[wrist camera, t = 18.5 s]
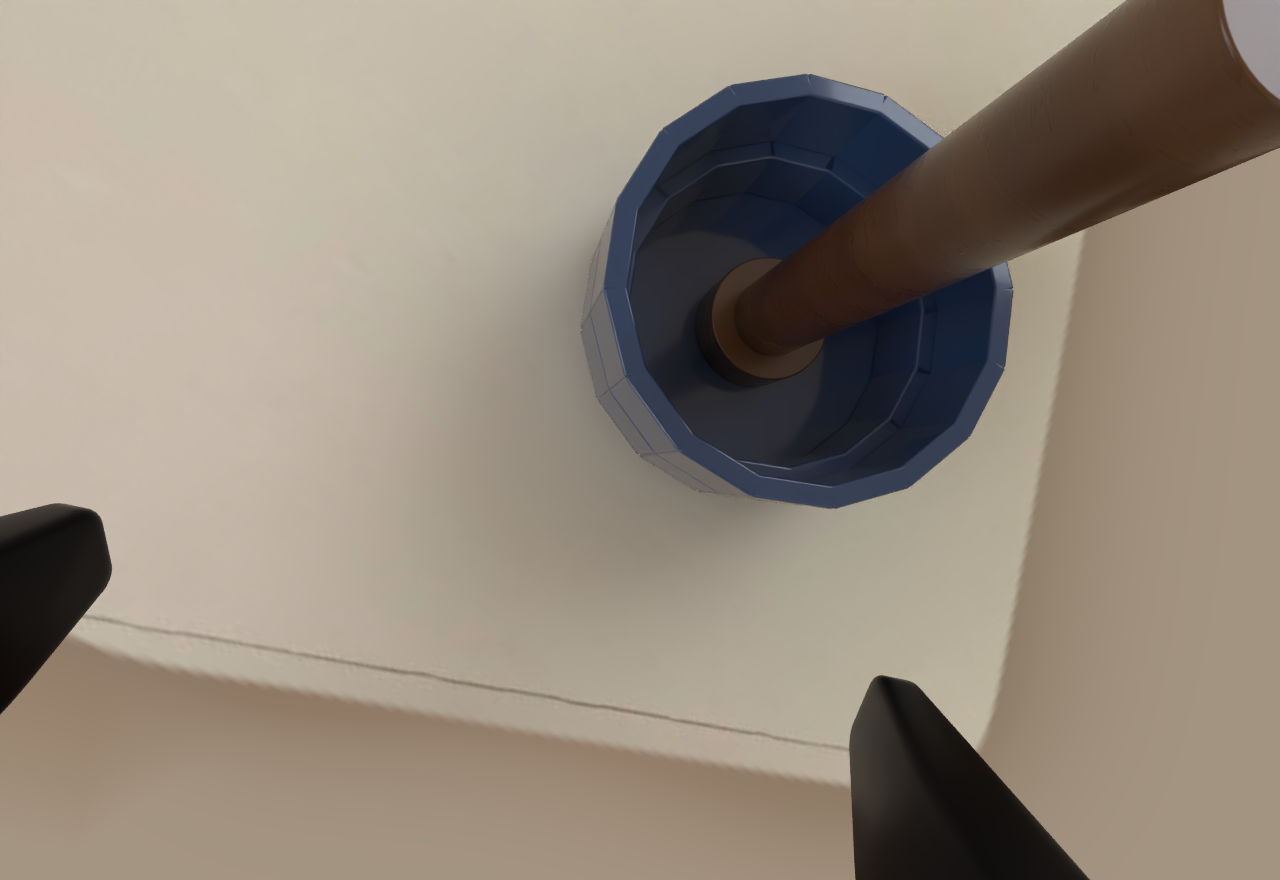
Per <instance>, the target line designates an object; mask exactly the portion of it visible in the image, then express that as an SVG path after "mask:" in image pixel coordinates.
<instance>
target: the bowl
mask: <svg viewBox="0 0 1280 880" xmlns="http://www.w3.org/2000/svg"><path fill="white" fill-rule="evenodd" d="M943 139H944V138H943V137H942V136H940V135H939V134H938V133H936V132H935V131H934V130H932V129H931V128H930V127H928V126H927V125H926V124H924V123H923V122H922V121H920V120H919V119H918V118H916V117H915V116H914V115H912V114H911V113H910V112H908V111H907V110H906V109H904V108H903V107H901V106H900V105H899V104H897V103H896V102H895V101H893V100H892V99H891V98H889V97H888V96H884V94H882V93H878V92H874V91H871V90H867V89H863V88H860V87H856V86H852V85H849V84H845V83H841V82H838V81H834V80H830V79H827V78H823V77H819V76H816V75H812V74H809V75H808V74H802V75H795V76H788V77H781V78H774V79H768V80H761V81H754V82H747V83H740V84H733V85H731V86H727V87H726V88H724V89H723V90H721V91H719V92H718V93H716V94H715V95H713V96H712V97H710V98H709V99H707V100H706V101H704V102H703V103H701V104H699V105H698V106H696V107H695V108H693V109H692V110H690V111H689V112H687V113H686V114H684V115H682V116H681V117H679V118H678V119H676V120H675V121H673V122H672V123H670V124H669V125H667V126H665V127H664V128H663V129H662V130H661V131H660V132H659V134H658V135H657V137H656V138H655V140H654V141H653V143H652V145H651V146H650V148H649V149H648V151H647V152H646V154H645V156H644V157H643V159H642V160H641V162H640V164H639V165H638V167H637V168H636V170H635V171H634V173H633V175H632V176H631V178H630V179H629V181H628V183H627V184H626V186H625V187H624V189H623V190H622V192H621V194H620V195H619V197H618V198H617V201H616V203H615V205H614V208H613V210H612V213H611V215H610V218H609V220H608V222H607V225H606V227H605V230H604V232H603V234H602V237H601V239H600V242H599V244H598V246H597V249H596V251H595V254H594V256H593V258H592V262H591V264H590V269H589V276H588V282H587V289H586V295H585V302H584V308H583V315H582V321H581V329H582V330H581V336H582V340H583V344H584V348H585V352H586V357H587V361H588V365H589V369H590V373H591V377H592V381H593V385H594V389H595V393H596V397H597V398H599V399H598V400H599V402H600V404H601V405H602V406H603V408H604V409H605V411H606V412H607V413H608V415H609V416H610V418H611V419H612V420H613V422H614V423H615V424H616V426H617V427H618V429H619V430H620V431H621V433H622V434H623V435H624V437H625V438H626V440H627V441H628V442H629V444H630V445H631V446H632V448H633V449H634V451H635V452H636V453H637V454H640V457H641V458H643V459H644V460H646V461H648V462H649V463H651V464H652V465H654V466H656V467H657V468H659V469H661V470H662V471H664V472H665V473H667V474H669V475H670V476H672V477H674V478H675V479H677V480H678V481H680V482H682V483H683V484H685V485H687V486H688V487H690V488H691V489H693V490H698V491H699V492H703V493H710V494H716V495H723V496H730V497H737V498H743V499H750V500H757V501H765V502H774V503H783V504H791V505H800V506H809V507H818V508H826V509H832V508H833V509H837V508H840V507H844V506H847V505H851V504H854V503H858V502H861V501H865V500H868V499H872V498H875V497H879V496H883V495H886V494H890V493H893V492H897V491H900V490H904V489H907V488H909V487H910V486H912V485H913V484H914V483H916V482H917V481H918V480H919V479H920V478H922V477H923V476H924V475H925V474H926V473H927V472H929V471H930V470H931V469H932V468H933V467H935V466H936V465H937V464H938V463H939V462H941V461H942V460H943V459H944V458H945V457H947V456H948V455H949V454H950V453H951V452H953V451H954V450H955V449H956V448H957V447H959V446H960V445H961V444H962V443H963V442H965V441H966V440H967V439H968V437H970V436H971V434H972V432H973V430H974V428H975V426H976V424H977V422H978V420H979V418H980V416H981V414H982V412H983V410H984V408H985V406H986V404H987V403H988V401H989V399H990V397H991V395H992V393H993V391H994V389H995V387H996V385H997V383H998V381H999V379H1000V377H1001V375H1002V373H1003V371H1004V367H1005V363H1006V354H1007V345H1008V335H1009V326H1010V317H1011V307H1012V298H1013V290H1012V288H1013V285H1012V281H1011V277H1010V273H1009V269H1008V264H1007V262H1004V263H1002V264H1000V265H997V266H995V267H992V268H990V269H988V270H985V271H983V272H980V273H978V274H976V275H973V276H971V277H969V278H966V279H964V280H961V281H959V282H957V283H954V284H952V285H949V286H947V287H945V288H942V289H940V290H937V291H935V292H933V293H930V294H928V295H925V296H923V297H921V298H918V299H916V300H913V301H911V302H909V303H906V304H904V305H901V306H899V307H897V308H894V309H892V310H890V311H887V312H885V313H882V314H880V315H878V316H875V317H873V318H870V319H868V320H866V321H863V322H861V323H858V324H856V325H854V326H851V327H849V328H846V329H844V330H842V331H839V332H837V333H834V334H832V335H830V336H827V337H826V338H825V341H824V344H823V347H822V349H821V351H820V352H819V354H818V356H817V357H816V358H815V360H814V361H813V362H812V363H811V364H810V365H809V366H808V367H807V368H806V369H804V370H803V371H801V372H800V373H798V374H796V375H794V376H791V377H789V378H786V379H783V380H780V381H777V382H774V383H771V384H767V385H763V386H743V385H739V384H735V383H733V382H731V381H728V380H727V379H725V378H723V377H722V376H720V375H719V374H718V373H717V372H716V371H715V370H714V369H713V368H712V367H711V366H710V365H709V364H708V362H707V361H706V359H705V358H704V356H703V354H702V352H701V350H700V347H699V344H698V340H697V334H696V319H697V314H698V310H699V307H700V304H701V302H702V300H703V298H704V297H705V295H706V294H707V292H708V291H709V290H710V289H711V288H712V287H713V286H714V285H715V284H716V283H717V282H718V281H719V280H721V279H722V278H723V277H724V276H725V275H726V274H727V273H728V272H730V271H731V270H732V269H733V268H735V267H736V266H738V265H740V264H741V263H743V262H746V261H748V260H752V259H756V258H764V257H766V258H776V259H781V260H784V259H785V258H787V257H788V256H789V255H791V254H792V253H793V252H795V251H796V250H797V249H799V248H800V247H801V246H803V245H804V244H805V243H807V242H808V241H809V240H810V239H812V238H813V237H814V236H816V235H817V234H818V233H820V232H821V231H822V230H824V229H825V228H826V227H828V226H829V225H830V224H832V223H833V222H834V221H836V220H837V219H838V218H840V217H841V216H842V215H844V214H845V213H846V212H847V211H849V210H850V209H851V208H853V207H854V206H855V205H857V204H858V203H859V202H861V201H862V200H863V199H865V198H866V197H867V196H869V195H870V194H871V193H873V192H874V191H875V190H877V189H878V188H879V187H881V186H882V185H883V184H884V183H886V182H887V181H888V180H890V179H891V178H892V177H894V176H895V175H896V174H898V173H899V172H900V171H902V170H903V169H904V168H906V167H907V166H908V165H910V164H911V163H912V162H914V161H915V160H916V159H918V158H919V157H920V156H921V155H923V154H924V153H925V152H927V151H928V150H929V149H931V148H932V147H933V146H935V145H936V144H937V143H939V142H940V141H941V140H943Z"/></svg>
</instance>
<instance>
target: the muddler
mask: <svg viewBox="0 0 1280 880" xmlns="http://www.w3.org/2000/svg"><path fill="white" fill-rule="evenodd" d="M1277 148H1280V0H1126V1H1125V2H1124V3H1122V4H1121V5H1120V6H1118V7H1117V8H1116V9H1114V10H1113V11H1112V12H1110V13H1109V14H1108V15H1106V16H1105V17H1104V18H1103V19H1101V20H1100V21H1099V22H1097V23H1096V24H1095V25H1093V26H1092V27H1091V28H1089V29H1088V30H1087V31H1085V32H1084V33H1083V34H1081V35H1080V36H1079V37H1077V38H1076V39H1075V40H1073V41H1072V42H1071V43H1069V44H1068V45H1067V46H1066V47H1064V48H1063V49H1062V50H1060V51H1059V52H1058V53H1056V54H1055V55H1054V56H1052V57H1051V58H1050V59H1048V60H1047V61H1046V62H1044V63H1043V64H1042V65H1040V66H1039V67H1038V68H1036V69H1035V70H1034V71H1032V72H1031V73H1030V74H1029V75H1027V76H1026V77H1025V78H1023V79H1022V80H1021V81H1019V82H1018V83H1017V84H1015V85H1014V86H1013V87H1011V88H1010V89H1009V90H1007V91H1006V92H1005V93H1003V94H1002V95H1001V96H999V97H998V98H997V99H995V100H994V101H993V102H992V103H990V104H989V105H988V106H986V107H985V108H984V109H982V110H981V111H980V112H978V113H977V114H976V115H974V116H973V117H972V118H970V119H969V120H968V121H966V122H965V123H964V124H962V125H961V126H960V127H958V128H957V129H956V130H955V131H953V132H952V133H951V134H949V135H948V136H947V137H945V138H944V139H943V140H941V141H940V142H939V143H937V144H936V145H935V146H933V147H932V148H931V149H929V150H928V151H927V152H925V153H924V154H923V155H921V156H920V157H919V158H918V159H916V160H915V161H914V162H912V163H911V164H910V165H908V166H907V167H906V168H904V169H903V170H902V171H900V172H899V173H898V174H896V175H895V176H894V177H892V178H891V179H890V180H888V181H887V182H886V183H884V184H883V185H882V186H881V187H879V188H878V189H877V190H875V191H874V192H873V193H871V194H870V195H869V196H867V197H866V198H865V199H863V200H862V201H861V202H859V203H858V204H857V205H855V206H854V207H853V208H851V209H850V210H849V211H847V212H846V213H845V214H844V215H842V216H841V217H840V218H838V219H837V220H836V221H834V222H833V223H832V224H830V225H829V226H828V227H826V228H825V229H824V230H822V231H821V232H820V233H818V234H817V235H816V236H814V237H813V238H812V239H810V240H809V241H808V242H807V243H805V244H804V245H803V246H801V247H800V248H799V249H797V250H796V251H795V252H793V253H792V254H791V255H789V256H788V257H787V258H785V259H784V260H781V259H776V258H766V257H764V258H756V259H752V260H748V261H746V262H743V263H741V264H740V265H738V266H736V267H735V268H733V269H732V270H731V271H730V272H728V273H727V274H726V275H725V276H724V277H723V278H722V279H721V280H719V281H718V282H717V283H716V284H715V285H714V286H713V287H712V288H711V289H710V290H709V291H708V292H707V294H706V295H705V297H704V298H703V300H702V302H701V304H700V307H699V310H698V314H697V319H696V334H697V340H698V344H699V347H700V350H701V352H702V354H703V356H704V358H705V359H706V361H707V362H708V364H709V365H710V366H711V367H712V368H713V369H714V370H715V371H716V372H717V373H718V374H719V375H720V376H722V377H723V378H725V379H727V380H728V381H731V382H733V383H735V384H739V385H743V386H763V385H767V384H771V383H774V382H777V381H780V380H783V379H786V378H789V377H791V376H794V375H796V374H798V373H800V372H801V371H803V370H804V369H806V368H807V367H808V366H809V365H810V364H811V363H812V362H813V361H814V360H815V358H816V357H817V356H818V354H819V352H820V351H821V349H822V347H823V344H824V341H825V338H826V337H827V336H830V335H832V334H834V333H837V332H839V331H842V330H844V329H846V328H849V327H851V326H854V325H856V324H858V323H861V322H863V321H866V320H868V319H870V318H873V317H875V316H878V315H880V314H882V313H885V312H887V311H890V310H892V309H894V308H897V307H899V306H901V305H904V304H906V303H909V302H911V301H913V300H916V299H918V298H921V297H923V296H925V295H928V294H930V293H933V292H935V291H937V290H940V289H942V288H945V287H947V286H949V285H952V284H954V283H957V282H959V281H961V280H964V279H966V278H969V277H971V276H973V275H976V274H978V273H980V272H983V271H985V270H988V269H990V268H992V267H995V266H997V265H1000V264H1002V263H1004V262H1007V261H1009V260H1012V259H1014V258H1016V257H1019V256H1021V255H1024V254H1026V253H1028V252H1031V251H1033V250H1036V249H1038V248H1040V247H1043V246H1045V245H1048V244H1050V243H1052V242H1055V241H1057V240H1059V239H1062V238H1064V237H1067V236H1069V235H1071V234H1074V233H1076V232H1079V231H1081V230H1083V229H1086V228H1088V227H1090V226H1093V225H1095V224H1098V223H1100V222H1102V221H1105V220H1107V219H1110V218H1112V217H1114V216H1117V215H1119V214H1122V213H1124V212H1126V211H1128V210H1131V209H1134V208H1136V207H1138V206H1141V205H1143V204H1146V203H1148V202H1150V201H1153V200H1155V199H1158V198H1160V197H1162V196H1165V195H1167V194H1170V193H1172V192H1174V191H1177V190H1179V189H1181V188H1184V187H1186V186H1189V185H1191V184H1194V183H1196V182H1198V181H1201V180H1203V179H1206V178H1208V177H1210V176H1213V175H1215V174H1217V173H1220V172H1222V171H1224V170H1227V169H1229V168H1232V167H1234V166H1237V165H1239V164H1241V163H1244V162H1246V161H1248V160H1251V159H1253V158H1256V157H1258V156H1260V155H1263V154H1265V153H1268V152H1270V151H1272V150H1275V149H1277Z"/></svg>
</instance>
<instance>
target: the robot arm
mask: <svg viewBox="0 0 1280 880" xmlns="http://www.w3.org/2000/svg"><path fill="white" fill-rule="evenodd" d="M111 573H112V564H111V559H110V555H109V550H108V546H107V541H106V537H105V532H104V527H103V523H102V520H101V518H100V516H99V515H98V514H97V513H96V512H94V511H93V510H91V509H87V508H82V507H77V506H73V505H68V504H60V503H56V504H49V505H45V506H41V507H37V508H33V509H29V510H25V511H21V512H17V513H13V514H9V515H5V516H1V517H0V714H1V713H2V712H3V711H4V710H5V709H6V708H7V707H8V705H10V704H11V702H12V701H13V700H14V699H15V698H16V697H17V695H18V694H19V693H20V692H21V691H22V690H23V688H24V687H25V686H26V685H27V684H28V683H29V681H30V680H31V679H32V678H33V676H34V675H35V674H36V673H37V671H38V670H39V669H40V668H41V667H42V665H43V664H44V663H45V661H46V660H47V659H48V658H49V657H50V655H51V654H52V653H53V652H54V651H55V649H56V648H57V647H58V646H59V645H60V643H61V642H62V641H63V640H64V638H65V637H66V636H67V635H68V633H69V632H70V631H71V630H72V629H73V627H74V626H75V625H76V624H77V622H78V621H79V620H80V619H81V618H82V616H83V615H84V614H85V613H86V611H87V610H88V609H89V608H90V607H91V605H92V604H93V603H94V602H95V600H96V599H97V598H98V597H99V595H100V594H101V593H102V592H103V591H104V589H105V588H106V586H107V584H108V582H109V580H110V577H111ZM849 751H850V774H851V794H852V795H851V796H852V818H853V839H854V863H855V878H856V880H1090V879H1089V878H1088V877H1087V876H1086V875H1085V874H1084V873H1083V871H1082V870H1081V869H1080V868H1079V867H1078V866H1077V865H1076V863H1075V862H1074V861H1073V860H1072V859H1071V858H1070V857H1069V856H1068V854H1067V853H1066V852H1065V851H1064V850H1063V849H1062V848H1061V847H1060V845H1059V844H1058V843H1057V842H1056V841H1055V840H1054V839H1053V838H1052V836H1051V835H1050V834H1049V833H1048V832H1047V831H1046V830H1045V829H1044V828H1043V826H1042V825H1041V824H1040V823H1039V822H1038V821H1037V820H1036V818H1035V817H1034V816H1033V815H1032V814H1031V813H1030V812H1029V811H1028V810H1027V808H1026V807H1025V806H1024V805H1023V804H1022V803H1021V802H1020V801H1019V799H1018V798H1017V797H1016V796H1015V795H1014V794H1013V793H1012V791H1011V790H1010V789H1009V788H1008V787H1007V786H1006V785H1005V784H1004V783H1003V781H1002V780H1001V779H1000V778H999V777H998V776H997V775H996V773H995V772H994V771H993V770H992V769H991V768H990V767H989V766H988V764H987V763H986V762H985V761H984V760H983V759H982V758H981V757H980V755H979V754H978V753H977V752H976V751H975V750H974V749H973V748H972V746H971V745H970V744H969V743H968V742H967V741H966V740H965V739H964V737H963V736H962V735H961V734H960V733H959V732H958V731H957V730H956V728H955V727H954V726H953V725H952V724H951V723H950V722H949V721H948V719H947V718H946V717H945V716H944V715H943V714H942V713H941V711H940V710H939V709H938V708H937V707H936V706H935V705H934V704H933V702H932V701H931V700H930V699H929V698H928V697H927V696H926V695H925V693H924V692H923V691H922V690H921V689H920V688H919V687H918V686H917V685H916V684H914V683H913V682H910V681H907V680H903V679H898V678H893V677H888V676H883V675H880V676H877V677H875V678H874V679H873V680H872V682H871V684H870V685H869V688H868V690H867V692H866V695H865V697H864V699H863V702H862V704H861V706H860V709H859V711H858V713H857V716H856V718H855V720H854V723H853V726H852V729H851V734H850V743H849Z"/></svg>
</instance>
